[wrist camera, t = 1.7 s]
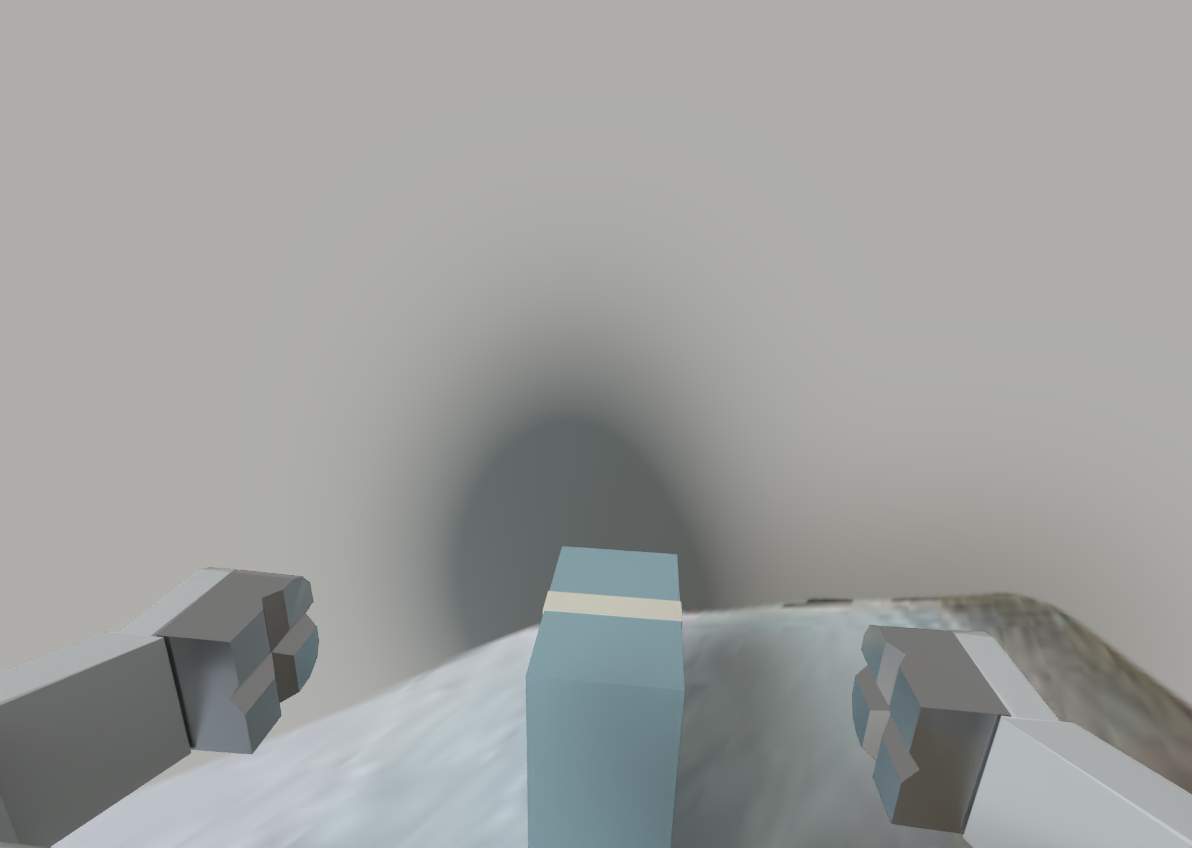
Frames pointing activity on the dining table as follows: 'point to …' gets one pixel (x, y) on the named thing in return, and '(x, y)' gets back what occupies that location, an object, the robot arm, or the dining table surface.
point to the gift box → (606, 702)
